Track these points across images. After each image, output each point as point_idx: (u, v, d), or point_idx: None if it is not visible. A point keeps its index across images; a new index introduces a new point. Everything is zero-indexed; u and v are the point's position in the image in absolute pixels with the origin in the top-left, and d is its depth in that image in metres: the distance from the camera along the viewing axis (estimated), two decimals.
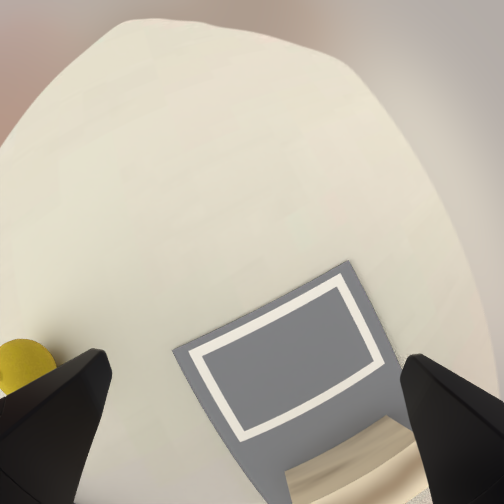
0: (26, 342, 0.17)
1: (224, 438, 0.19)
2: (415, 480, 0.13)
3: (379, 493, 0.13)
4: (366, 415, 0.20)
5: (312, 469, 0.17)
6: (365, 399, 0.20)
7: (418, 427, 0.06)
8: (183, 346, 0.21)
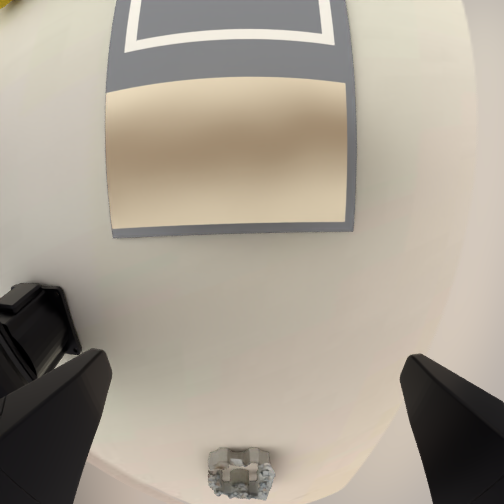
0: None
1: (112, 44, 0.13)
2: (311, 173, 0.11)
3: (238, 140, 0.10)
4: None
5: None
6: (292, 66, 0.15)
7: (418, 427, 0.06)
8: None
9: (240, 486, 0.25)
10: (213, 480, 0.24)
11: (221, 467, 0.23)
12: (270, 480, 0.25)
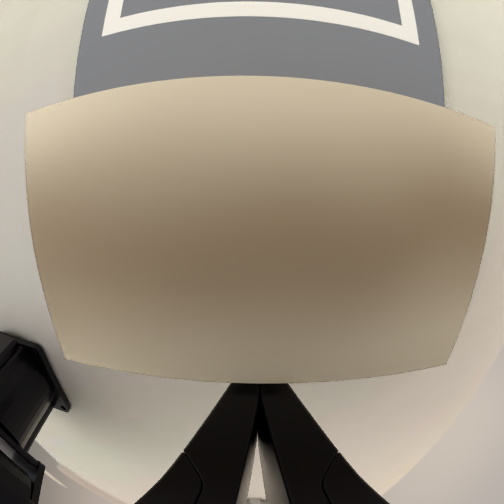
0: None
1: (87, 26, 0.08)
2: (423, 302, 0.05)
3: (300, 236, 0.05)
4: None
5: None
6: (362, 68, 0.09)
7: (260, 448, 0.06)
8: None
9: None
10: None
11: None
12: None
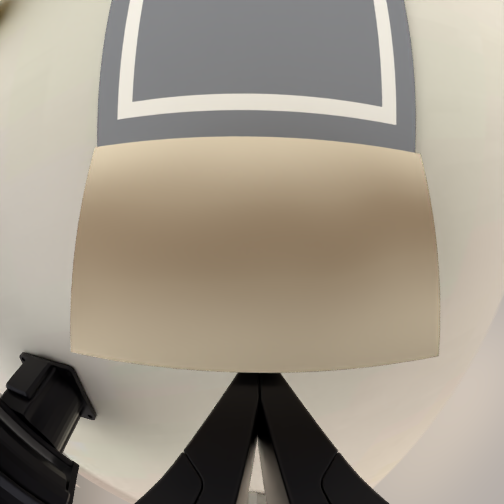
0: None
1: (102, 105, 0.11)
2: (394, 286, 0.07)
3: (283, 232, 0.07)
4: None
5: None
6: None
7: (260, 448, 0.06)
8: None
9: None
10: None
11: None
12: None
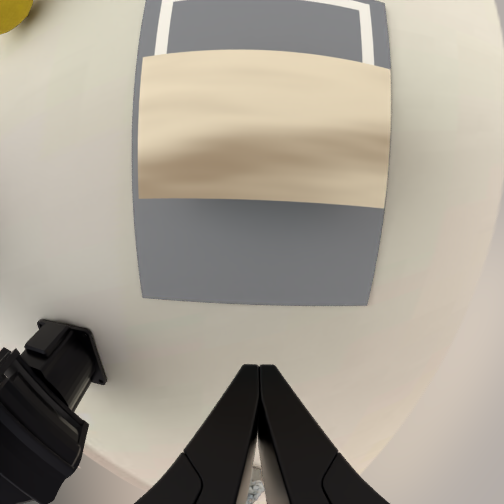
0: None
1: (137, 97, 0.15)
2: None
3: None
4: None
5: None
6: None
7: (260, 448, 0.06)
8: None
9: None
10: None
11: None
12: (258, 493, 0.27)
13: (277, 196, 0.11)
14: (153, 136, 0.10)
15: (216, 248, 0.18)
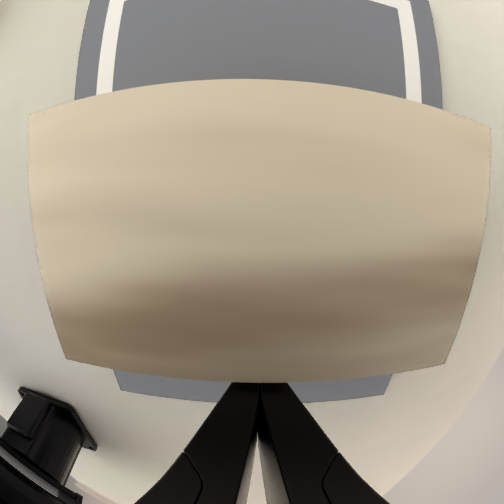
0: None
1: None
2: None
3: None
4: None
5: None
6: None
7: (260, 448, 0.06)
8: None
9: None
10: None
11: None
12: None
13: (282, 377, 0.06)
14: (60, 271, 0.05)
15: None
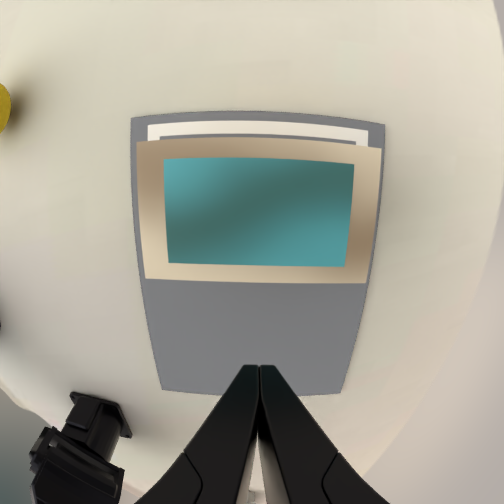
0: None
1: (139, 246, 0.18)
2: None
3: None
4: (302, 308, 0.20)
5: None
6: (312, 289, 0.19)
7: (260, 448, 0.06)
8: (145, 117, 0.15)
9: None
10: None
11: None
12: None
13: (273, 138, 0.10)
14: None
15: (219, 363, 0.21)
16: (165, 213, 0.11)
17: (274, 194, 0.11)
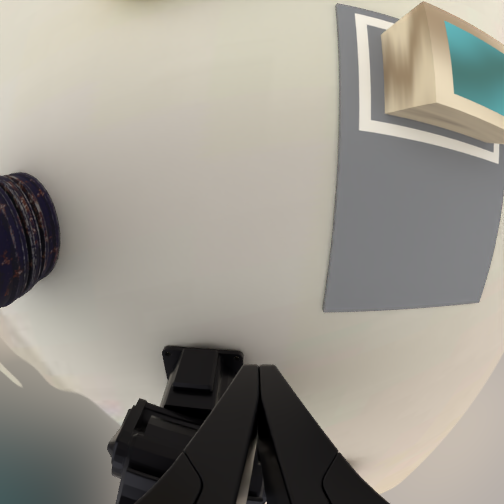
0: None
1: (345, 114, 0.15)
2: None
3: None
4: (470, 198, 0.17)
5: (450, 116, 0.11)
6: (475, 181, 0.16)
7: (260, 448, 0.06)
8: (351, 7, 0.13)
9: None
10: None
11: None
12: None
13: (493, 39, 0.08)
14: None
15: (400, 262, 0.19)
16: (449, 55, 0.09)
17: (501, 70, 0.08)
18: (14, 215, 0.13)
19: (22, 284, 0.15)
